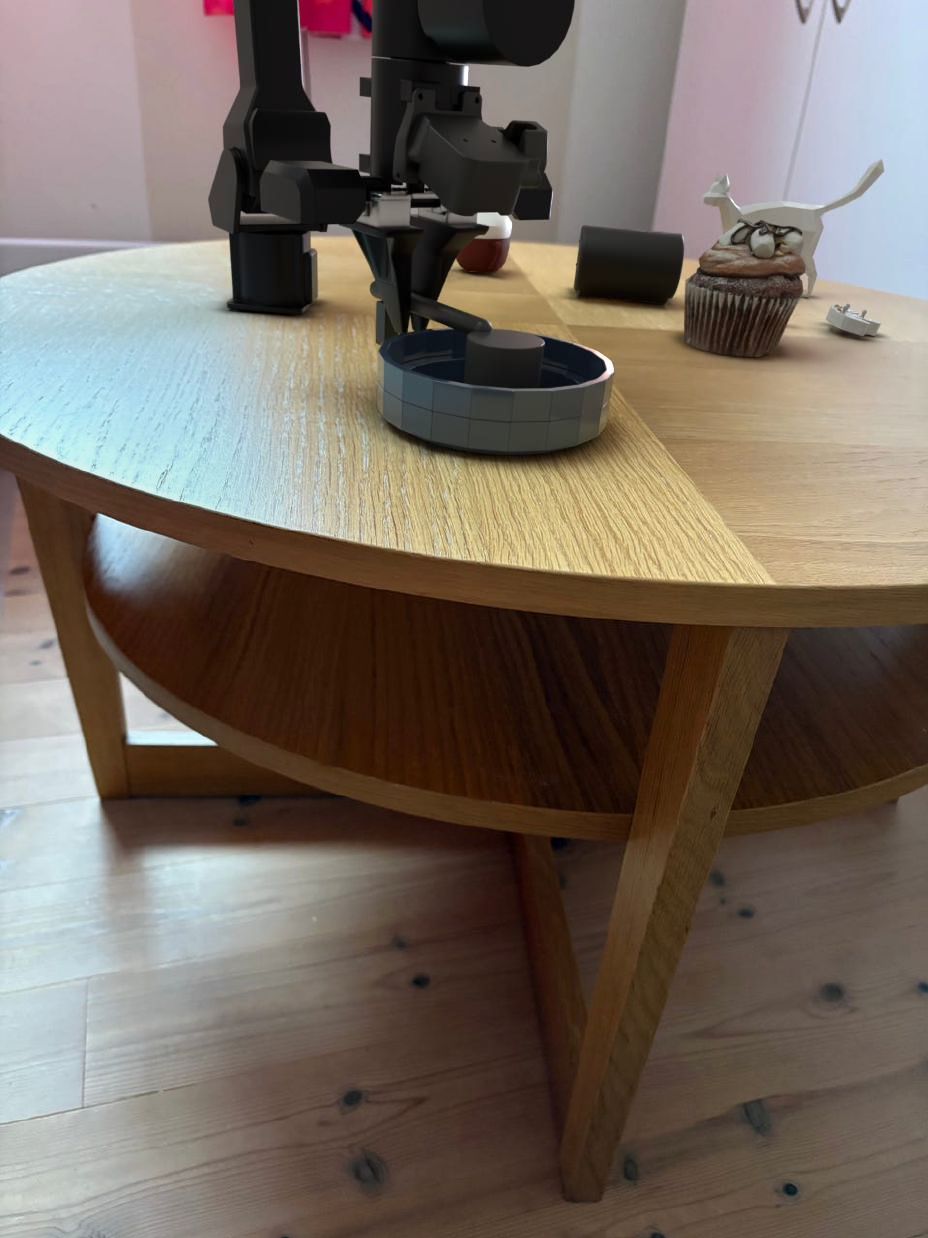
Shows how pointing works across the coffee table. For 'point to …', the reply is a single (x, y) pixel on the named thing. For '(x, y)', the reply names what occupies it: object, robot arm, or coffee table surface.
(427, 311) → the ladle
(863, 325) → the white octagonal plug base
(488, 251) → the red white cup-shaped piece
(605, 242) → the end cap
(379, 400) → the bowl
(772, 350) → the cupcake
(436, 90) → the robot arm
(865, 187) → the cat figurine
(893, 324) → the coffee table surface
